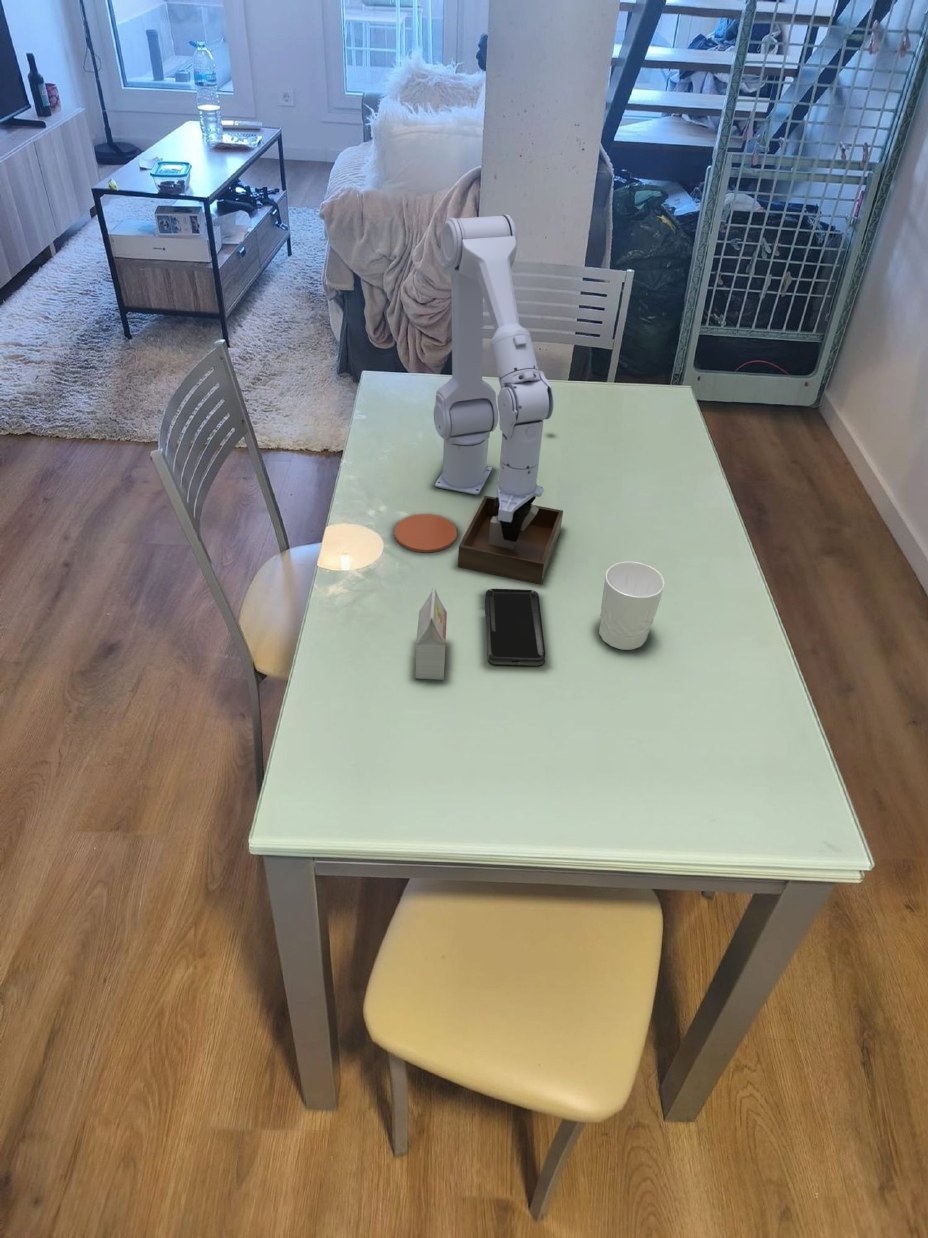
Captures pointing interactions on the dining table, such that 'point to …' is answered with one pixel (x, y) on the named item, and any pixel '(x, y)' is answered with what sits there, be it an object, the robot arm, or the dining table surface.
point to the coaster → (425, 533)
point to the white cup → (629, 604)
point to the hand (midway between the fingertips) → (512, 535)
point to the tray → (527, 554)
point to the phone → (514, 627)
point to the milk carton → (431, 639)
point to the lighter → (496, 530)
